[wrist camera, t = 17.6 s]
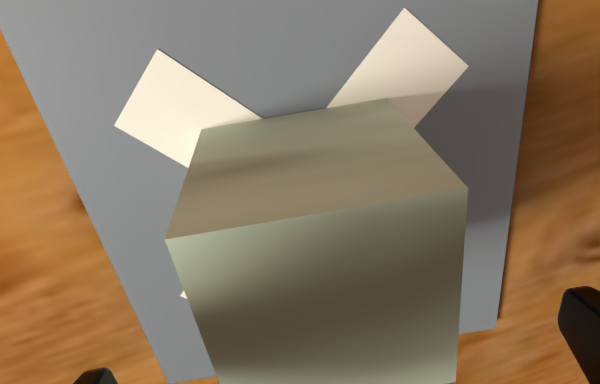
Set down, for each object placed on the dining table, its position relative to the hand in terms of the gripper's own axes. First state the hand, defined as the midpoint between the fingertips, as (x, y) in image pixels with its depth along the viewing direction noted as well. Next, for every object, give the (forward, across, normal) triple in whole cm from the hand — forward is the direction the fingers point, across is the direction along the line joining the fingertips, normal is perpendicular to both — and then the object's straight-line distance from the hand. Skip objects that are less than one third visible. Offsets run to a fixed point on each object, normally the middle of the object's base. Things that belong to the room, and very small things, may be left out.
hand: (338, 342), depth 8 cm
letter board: (+7, 0, 0) cm, 7 cm away
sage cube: (+6, 0, 0) cm, 6 cm away
